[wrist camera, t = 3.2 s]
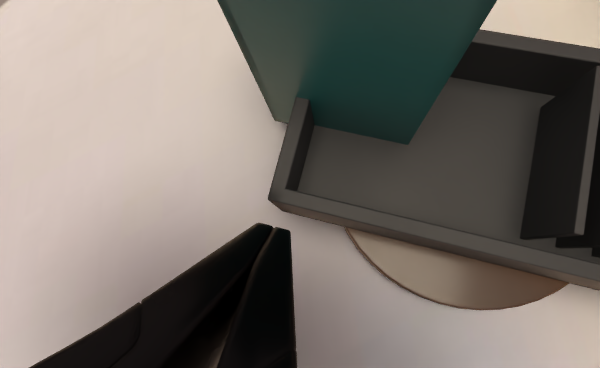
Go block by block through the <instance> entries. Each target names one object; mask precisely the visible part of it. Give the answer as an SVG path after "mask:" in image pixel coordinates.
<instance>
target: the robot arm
mask: <svg viewBox="0 0 600 368" xmlns="http://www.w3.org/2000/svg"><path fill="white" fill-rule="evenodd" d="M29 368H297V352H296V335H295V315H294V294H293V274H292V253H291V234H290V231H289V230H286V229H282V228H278V227H275V228H273V227H272V226H270V225H266V224H263V223H256V224H255V225H253V226H252V227H250V228H249V229H247V230H246V231H244V232H243V233H241V234H240V235H238V236H237V237H235V238H234V239H232V240H231V241H229V242H228V243H226V244H225V245H223V246H222V247H220V248H219V249H217V250H216V251H214V252H213V253H211V254H210V255H208V256H207V257H206V258H204V259H203V260H201V261H200V262H198V263H197V264H195V265H194V266H192V267H191V268H189V269H188V270H186V271H185V272H183V273H182V274H180V275H179V276H177V277H176V278H174V279H173V280H171V281H170V282H168V283H167V284H165V285H164V286H162V287H161V288H159V289H158V290H156V291H155V292H153V293H152V294H150V295H149V296H147V297H146V298H144V299H143V300H142V301H141V303H137V304H135V305H134V306H132V307H131V308H129V309H128V310H126V311H125V312H123V313H122V314H120V315H119V316H117V317H116V318H114V319H112V320H111V321H109V322H108V323H106V324H105V325H103V326H102V327H100V328H98V329H97V330H95V331H93V332H91V333H90V334H88V335H86V336H85V337H83V338H81V339H79V340H78V341H76V342H74V343H72V344H71V345H69V346H67V347H65V348H64V349H62V350H60V351H58V352H56V353H55V354H53V355H51V356H49V357H47V358H46V359H44V360H42V361H40V362H38V363H36V364H35V365H33V366H31V367H29Z"/></svg>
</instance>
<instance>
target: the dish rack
mask: <svg viewBox="0 0 600 368" xmlns="http://www.w3.org/2000/svg"><path fill="white" fill-rule="evenodd" d="M496 1H497V0H218V2H219V4H220V7H221V9H222V11H223V13H224V15H225V17H226V19H227V21H228V23H229V25H230V28H231V30H232V32H233V34H234V36H235V38H236V40H237V42H238V44H239V46H240V49H241V51H242V53H243V55H244V57H245V59H246V61H247V63H248V65H249V67H250V70H251V72H252V74H253V76H254V78H255V80H256V82H257V84H258V86H259V88H260V91H261V93H262V95H263V97H264V99H265V101H266V103H267V105H268V107H269V109H270V112H271V114H272V116H273V118H274V120H275V121H279V122H284V123H288V127H287V130H286V134H285V137H284V141H283V145H282V148H281V152H280V156H279V159H278V163H277V166H276V170H275V174H274V177H273V181H272V185H271V188H270V192H269V195H268V200H269V201H271V202H272V203H273V204H274V205H276V206H277V207H278V208H279V209H281V210H282V211H285V212H289V213H293V214H297V215H301V216H305V217H309V218H312V219H316V220H320V221H324V222H328V223H332V224H336V225H340V226H344V227H348V228H352V229H356V230H360V231H364V232H368V233H372V234H376V235H380V236H384V237H388V238H392V239H396V240H400V241H404V242H408V243H412V244H416V245H420V246H424V247H428V248H432V249H436V250H440V251H444V252H448V253H452V254H456V255H460V256H464V257H468V258H472V259H476V260H480V261H484V262H488V263H492V264H496V265H500V266H504V267H508V268H512V269H516V270H520V271H524V272H528V273H532V274H536V275H540V276H544V277H548V278H552V279H556V280H560V281H564V282H568V283H572V284H576V285H580V286H584V287H588V288H592V289H596V290H600V49H598V48H592V47H586V46H579V45H573V44H567V43H561V42H554V41H548V40H542V39H536V38H530V37H523V36H517V35H511V34H505V33H499V32H492V31H486V30H480V27H481V25H482V24H483V22H484V21H485V19H486V17H487V16H488V14H489V12H490V11H491V9H492V8H493V6H494V4H495V3H496Z"/></svg>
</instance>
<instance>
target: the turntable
mask: <svg viewBox="0 0 600 368" xmlns="http://www.w3.org/2000/svg"><path fill="white" fill-rule="evenodd" d="M345 229H346V231H347V233H348V235H349V237H350V238H351V240H352V241H353V243H354V244H355V246H356V247H357V249H358V250H359V251H360V252H361V253H362V255H363V256H364V257H365V258H366V259H367V260H368V261H369V263H370V264H372V265H373V266H374V267H375V268H376V269H377V270H378V271H379V272H381V273H382V274H383V275H384V276H385V277H387V278H388V279H390V280H391V281H393V282H394V283H396V284H397V285H399V286H400V287H402V288H404V289H406V290H408V291H410V292H412V293H414V294H416V295H418V296H420V297H422V298H425V299H428V300H430V301H433V302H436V303H439V304H443V305H447V306H451V307H456V308H462V309H472V310H500V309H506V308H512V307H518V306H522V305H525V304H528V303H531V302H535V301H538V300H540V299H542V298H544V297H547V296H549V295H551V294H553V293H555V292H557V291H559V290H560V289H562V288H563V287H564V286H566V285H567V284H569V283H568V282H564V281H560V280H556V279H552V278H548V277H544V276H540V275H536V274H532V273H528V272H524V271H520V270H516V269H512V268H508V267H504V266H500V265H496V264H492V263H488V262H484V261H480V260H476V259H472V258H468V257H464V256H460V255H456V254H452V253H448V252H444V251H440V250H436V249H432V248H428V247H424V246H420V245H416V244H412V243H408V242H404V241H400V240H396V239H392V238H388V237H384V236H380V235H376V234H372V233H368V232H364V231H360V230H356V229H352V228H348V227H345Z"/></svg>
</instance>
